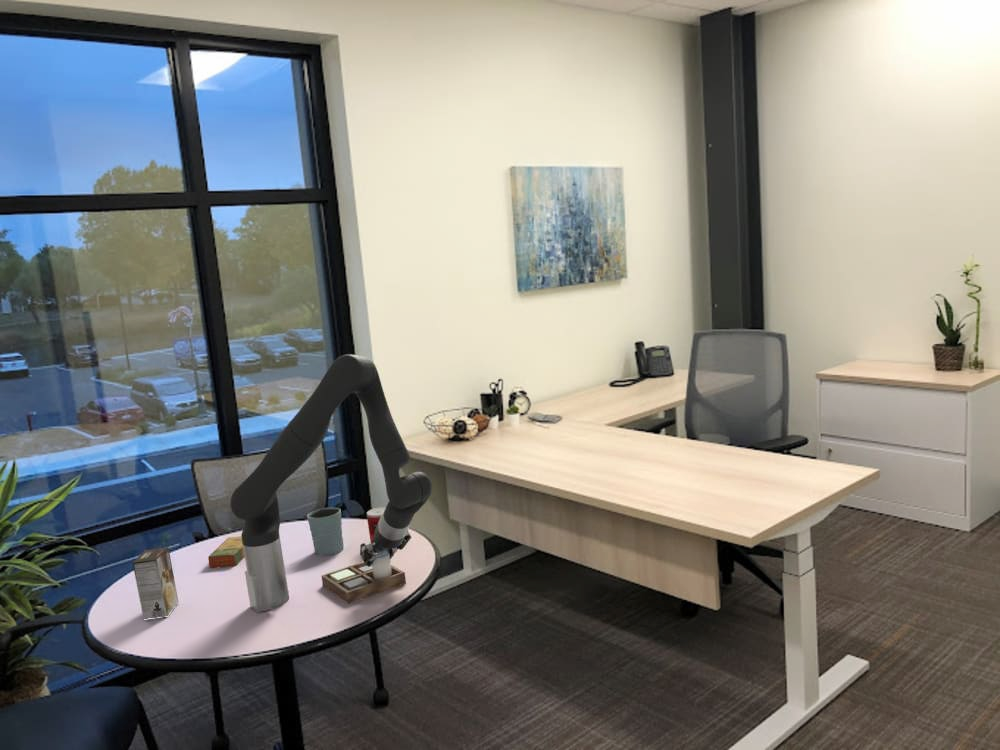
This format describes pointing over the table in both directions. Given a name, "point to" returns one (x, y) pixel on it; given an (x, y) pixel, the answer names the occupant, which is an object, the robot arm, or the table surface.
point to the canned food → (374, 519)
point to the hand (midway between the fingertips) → (377, 560)
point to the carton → (227, 553)
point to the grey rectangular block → (365, 569)
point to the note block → (342, 575)
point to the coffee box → (155, 583)
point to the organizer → (366, 590)
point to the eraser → (355, 583)
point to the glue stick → (382, 566)
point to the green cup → (326, 530)
